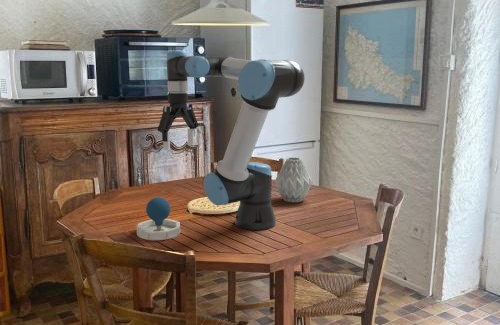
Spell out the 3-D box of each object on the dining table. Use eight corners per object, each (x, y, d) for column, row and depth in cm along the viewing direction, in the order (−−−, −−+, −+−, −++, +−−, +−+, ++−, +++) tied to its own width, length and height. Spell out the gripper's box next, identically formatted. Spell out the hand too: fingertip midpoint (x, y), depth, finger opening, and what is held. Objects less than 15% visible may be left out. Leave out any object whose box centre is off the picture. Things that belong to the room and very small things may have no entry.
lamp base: (189, 231, 181) (188, 224, 180) (157, 243, 169) (157, 235, 168) (159, 223, 190) (159, 216, 189) (128, 234, 178) (127, 226, 177)
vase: (271, 204, 215) (271, 161, 212) (278, 194, 231) (279, 154, 227) (309, 206, 212) (310, 163, 208) (314, 196, 227) (315, 156, 224)
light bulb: (172, 233, 176) (171, 199, 174) (148, 235, 174) (146, 201, 172) (169, 225, 184) (168, 193, 182) (146, 227, 182) (144, 195, 180)
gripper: (192, 90, 205) (193, 142, 209) (146, 93, 185) (148, 150, 189) (206, 91, 201) (207, 144, 205) (161, 94, 181) (163, 153, 185)
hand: (179, 147), depth 197 cm, fingers open, 13 cm apart
